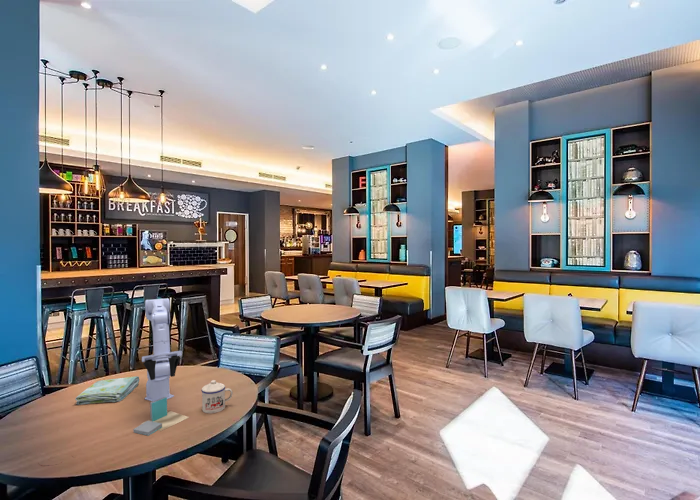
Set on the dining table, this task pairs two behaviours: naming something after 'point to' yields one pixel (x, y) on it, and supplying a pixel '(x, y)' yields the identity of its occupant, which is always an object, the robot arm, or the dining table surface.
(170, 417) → the beige square board
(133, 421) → the dining table surface
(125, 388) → the towel
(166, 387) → the robot arm
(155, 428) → the tile
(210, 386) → the teacup with lid
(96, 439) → the dining table surface
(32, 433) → the dining table surface
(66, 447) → the dining table surface
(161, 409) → the tile
